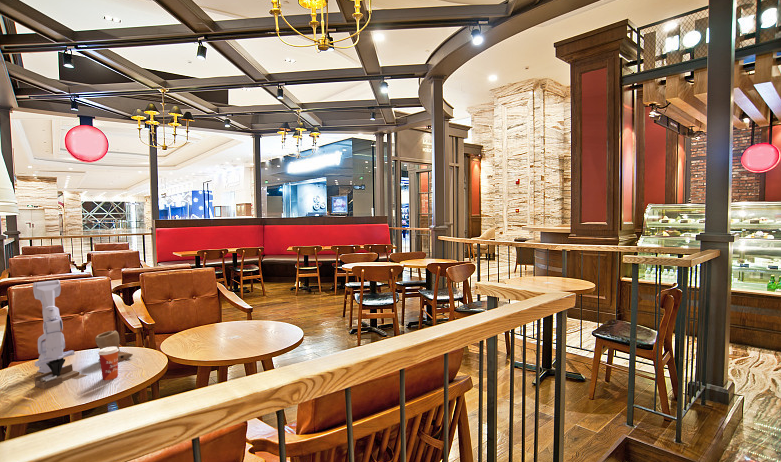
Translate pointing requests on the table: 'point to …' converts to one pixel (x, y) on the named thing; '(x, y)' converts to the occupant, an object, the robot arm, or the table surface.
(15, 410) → the table surface
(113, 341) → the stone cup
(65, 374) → the walnut cabinet
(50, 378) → the steel cube
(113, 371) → the paper cup
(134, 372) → the table surface
